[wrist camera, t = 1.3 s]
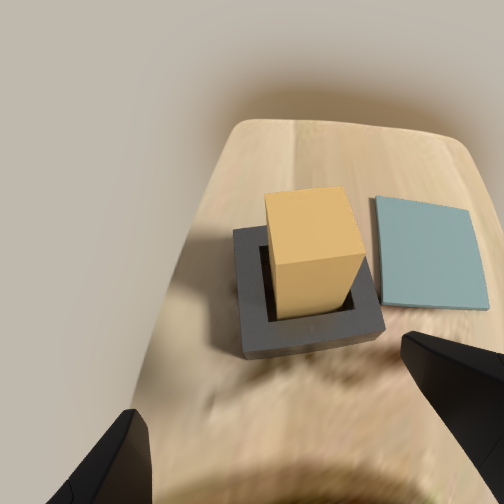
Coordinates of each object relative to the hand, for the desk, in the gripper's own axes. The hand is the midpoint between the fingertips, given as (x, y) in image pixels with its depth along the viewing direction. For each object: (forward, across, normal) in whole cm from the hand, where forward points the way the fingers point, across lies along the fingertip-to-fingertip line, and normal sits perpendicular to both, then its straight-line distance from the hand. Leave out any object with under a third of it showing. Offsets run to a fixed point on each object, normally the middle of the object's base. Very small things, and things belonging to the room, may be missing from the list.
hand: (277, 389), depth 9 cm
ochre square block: (+16, -5, +5) cm, 17 cm away
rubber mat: (+15, -20, +5) cm, 25 cm away
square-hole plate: (+16, -5, +5) cm, 17 cm away
